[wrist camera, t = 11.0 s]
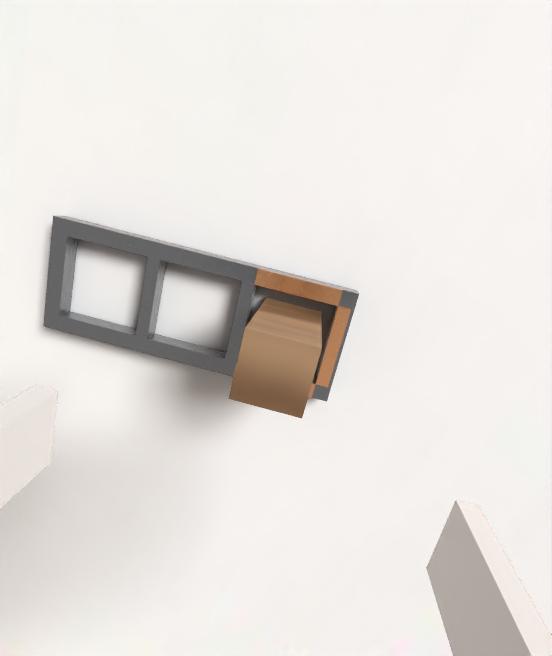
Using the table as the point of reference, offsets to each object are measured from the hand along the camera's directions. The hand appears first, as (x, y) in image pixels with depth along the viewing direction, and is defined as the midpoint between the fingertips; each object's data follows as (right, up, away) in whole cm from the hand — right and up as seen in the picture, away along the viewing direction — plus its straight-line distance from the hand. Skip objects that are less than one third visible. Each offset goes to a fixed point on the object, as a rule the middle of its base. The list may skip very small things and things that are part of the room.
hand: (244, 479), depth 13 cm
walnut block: (+2, +5, +20) cm, 21 cm away
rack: (-5, +7, +21) cm, 22 cm away
